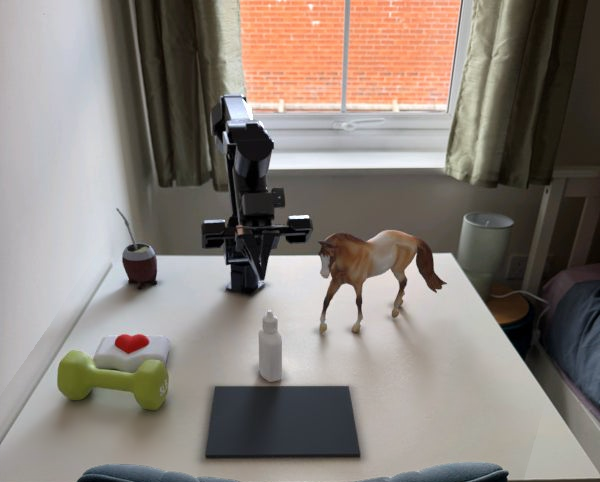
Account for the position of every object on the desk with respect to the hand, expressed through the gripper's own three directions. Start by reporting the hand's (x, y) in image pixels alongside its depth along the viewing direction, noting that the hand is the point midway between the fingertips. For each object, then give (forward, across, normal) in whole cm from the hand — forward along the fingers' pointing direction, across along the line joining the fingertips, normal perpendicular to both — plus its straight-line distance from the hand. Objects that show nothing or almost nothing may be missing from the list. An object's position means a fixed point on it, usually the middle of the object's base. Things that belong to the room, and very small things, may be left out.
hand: (262, 279), depth 101 cm
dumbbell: (+18, -25, +2) cm, 31 cm away
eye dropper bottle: (+16, 0, +4) cm, 16 cm away
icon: (+10, -23, +9) cm, 27 cm away
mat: (+25, 0, -6) cm, 25 cm away
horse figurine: (+6, +24, +13) cm, 28 cm away
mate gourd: (-13, -22, +32) cm, 41 cm away
